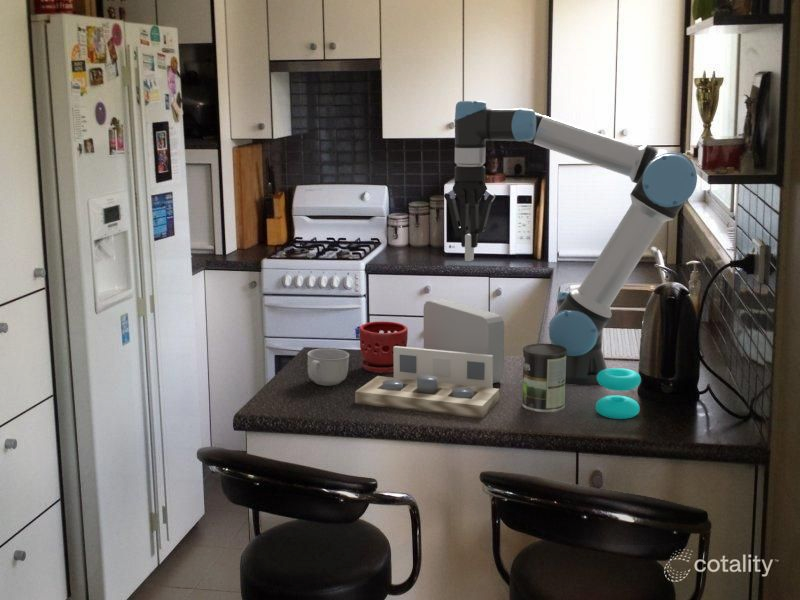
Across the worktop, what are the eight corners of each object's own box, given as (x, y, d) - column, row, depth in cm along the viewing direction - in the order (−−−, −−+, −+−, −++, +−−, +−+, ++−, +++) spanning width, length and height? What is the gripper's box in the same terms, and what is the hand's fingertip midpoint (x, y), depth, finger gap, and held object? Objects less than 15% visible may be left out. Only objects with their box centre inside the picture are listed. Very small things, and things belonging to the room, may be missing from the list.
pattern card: (494, 391, 242) (495, 353, 240) (489, 397, 237) (489, 358, 235) (398, 381, 251) (397, 344, 249) (391, 386, 247) (390, 348, 245)
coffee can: (524, 412, 226) (525, 354, 223) (520, 399, 236) (521, 343, 233) (568, 412, 226) (569, 354, 223) (562, 399, 236) (563, 343, 233)
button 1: (406, 392, 239) (406, 380, 238) (398, 398, 234) (398, 386, 233) (387, 390, 240) (387, 378, 240) (379, 396, 236) (379, 384, 235)
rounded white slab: (510, 382, 250) (511, 314, 246) (487, 387, 246) (488, 318, 242) (445, 358, 273) (445, 296, 269) (423, 362, 269) (423, 299, 265)
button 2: (475, 400, 232) (476, 388, 231) (469, 406, 228) (469, 394, 227) (456, 398, 234) (456, 386, 233) (449, 404, 229) (449, 392, 229)
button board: (499, 400, 235) (499, 388, 234) (482, 418, 222) (482, 405, 221) (377, 387, 246) (377, 375, 246) (355, 403, 234) (355, 391, 233)
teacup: (326, 374, 258) (325, 345, 257) (358, 380, 252) (357, 351, 250) (291, 387, 247) (290, 357, 245) (323, 394, 241) (323, 363, 239)
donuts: (598, 365, 229) (642, 367, 226) (597, 405, 231) (640, 408, 228) (595, 376, 219) (640, 379, 217) (593, 418, 221) (638, 422, 219)
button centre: (440, 388, 235) (440, 376, 234) (433, 394, 230) (433, 382, 230) (421, 386, 237) (421, 374, 236) (414, 391, 232) (414, 379, 232)
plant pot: (354, 374, 258) (353, 330, 255) (367, 361, 270) (366, 319, 268) (401, 377, 255) (401, 333, 252) (412, 364, 267) (412, 321, 265)
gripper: (499, 164, 237) (498, 259, 242) (449, 163, 242) (449, 256, 247) (491, 166, 230) (490, 264, 235) (439, 165, 235) (439, 261, 240)
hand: (469, 260), depth 241 cm, fingers closed
